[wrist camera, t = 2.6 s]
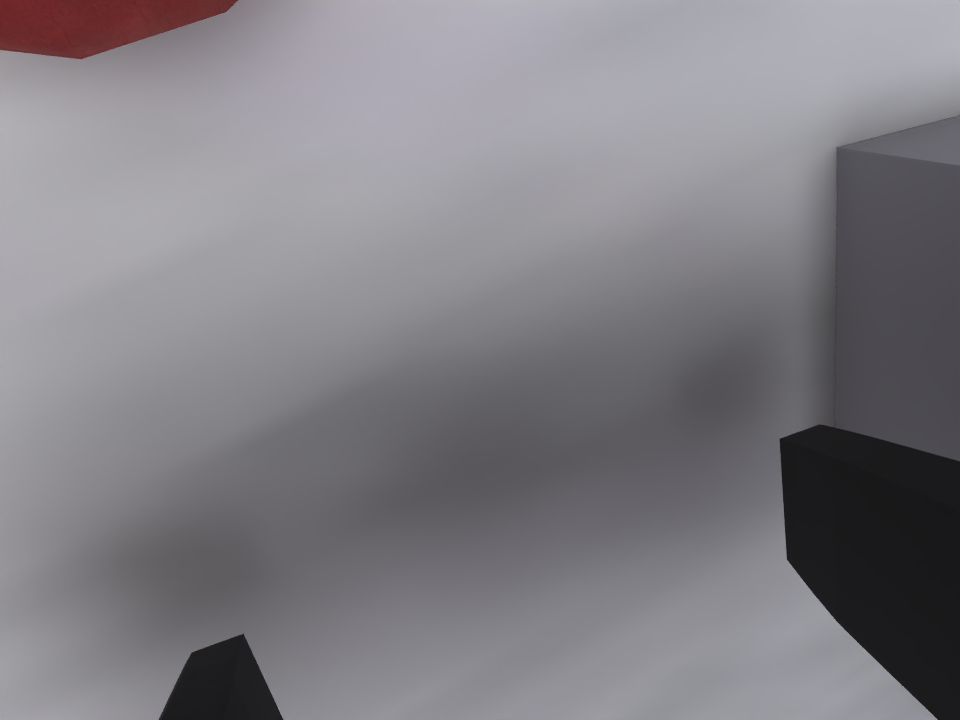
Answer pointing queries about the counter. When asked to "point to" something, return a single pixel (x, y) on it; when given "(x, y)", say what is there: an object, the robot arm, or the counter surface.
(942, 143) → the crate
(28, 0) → the red rounded lump
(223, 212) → the counter surface
